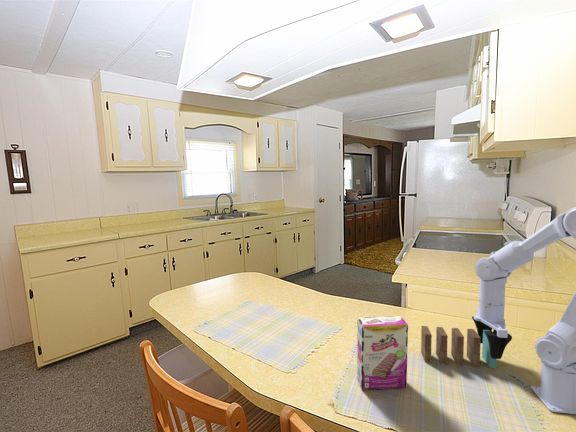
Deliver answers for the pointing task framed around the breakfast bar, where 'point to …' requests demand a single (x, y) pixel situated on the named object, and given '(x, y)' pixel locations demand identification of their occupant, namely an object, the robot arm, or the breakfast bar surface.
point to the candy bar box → (382, 352)
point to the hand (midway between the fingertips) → (489, 350)
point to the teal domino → (487, 352)
